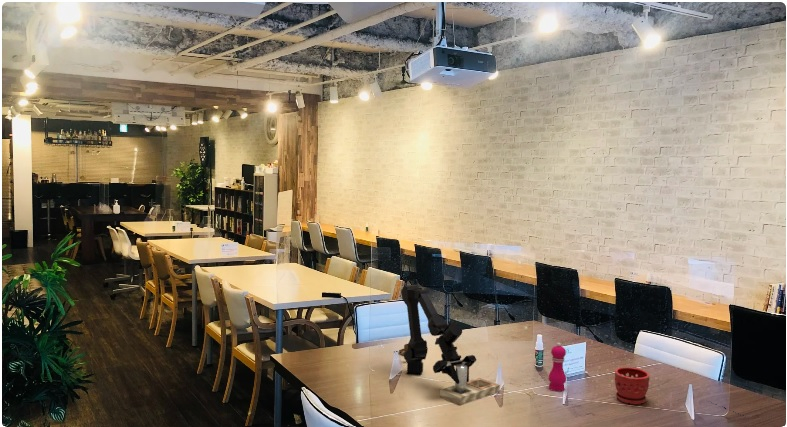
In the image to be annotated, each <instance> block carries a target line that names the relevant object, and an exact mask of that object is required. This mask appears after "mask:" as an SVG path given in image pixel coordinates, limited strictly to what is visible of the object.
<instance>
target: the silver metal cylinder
mask: <svg viewBox="0 0 787 427" xmlns="http://www.w3.org/2000/svg"><path fill="white" fill-rule="evenodd" d="M455 371H456V374H457V377H458V380H459V384H457V383H456V382H455V381H454V383H455V384H454V385H455V392H456V393H459V394H464V393H466V391H467V366H466V365H463V364H458V365H456V366H455Z"/></svg>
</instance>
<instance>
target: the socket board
mask: <svg viewBox="0 0 787 427" xmlns="http://www.w3.org/2000/svg"><path fill="white" fill-rule="evenodd" d="M500 390H501V384H499V383H495V382H492V381H490V380H487V379H484V378H482V377H478V378H474V379H472V380H469V382H467V391H466V393H464V394H459V393H456V392H455V384H454V385H450V386H448V387H445V388H442V389H440V390H439V393H440V394H439V397H440V398H442V399H444V400H446V401H449V402H452V403H454V404H456V405H458V406H462V405H465V404H467V403H470V402H474V401H477V400H480V399H482V398H486V397H489V396H492V395H495V394H497V393H500V392H501V391H500Z"/></svg>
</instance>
